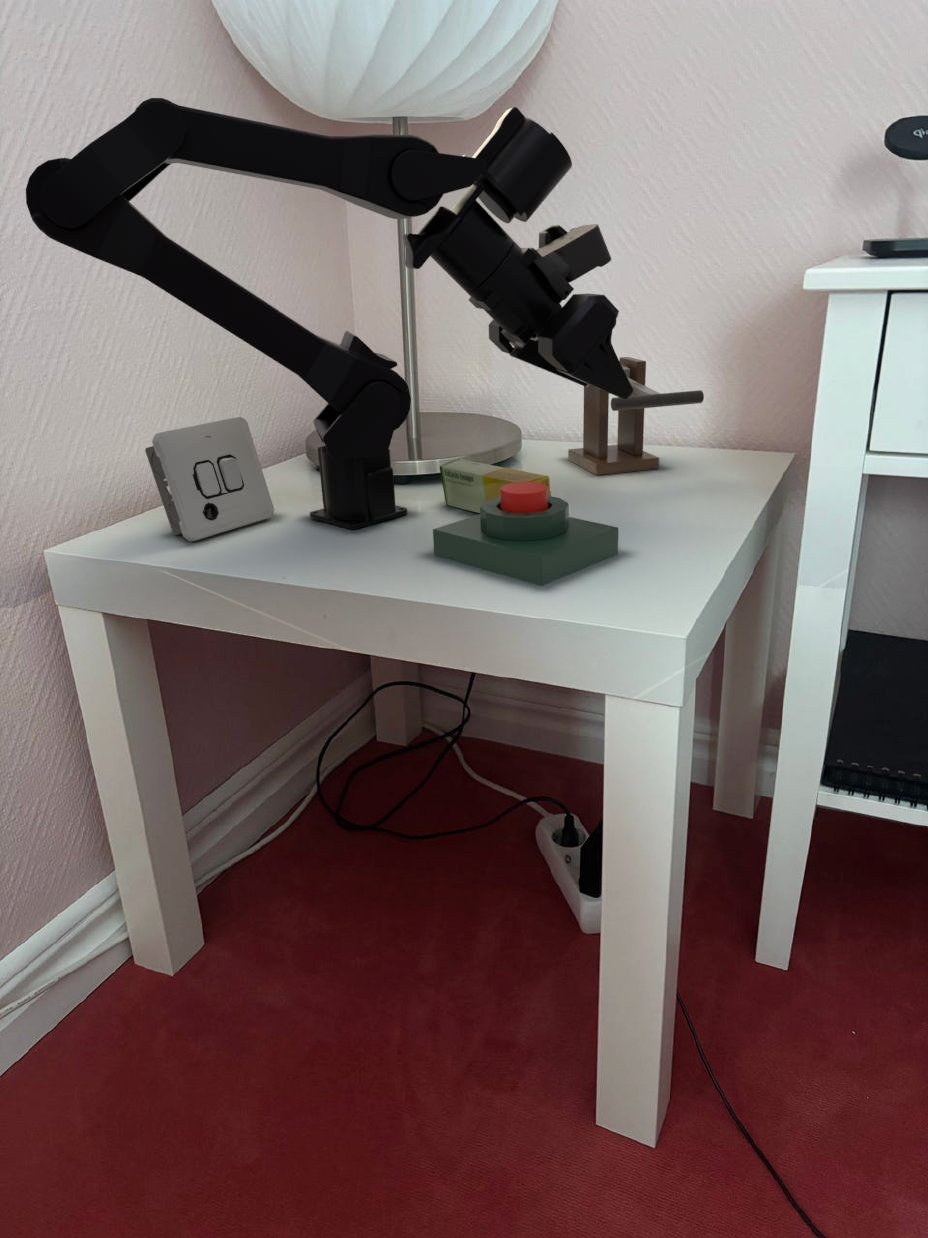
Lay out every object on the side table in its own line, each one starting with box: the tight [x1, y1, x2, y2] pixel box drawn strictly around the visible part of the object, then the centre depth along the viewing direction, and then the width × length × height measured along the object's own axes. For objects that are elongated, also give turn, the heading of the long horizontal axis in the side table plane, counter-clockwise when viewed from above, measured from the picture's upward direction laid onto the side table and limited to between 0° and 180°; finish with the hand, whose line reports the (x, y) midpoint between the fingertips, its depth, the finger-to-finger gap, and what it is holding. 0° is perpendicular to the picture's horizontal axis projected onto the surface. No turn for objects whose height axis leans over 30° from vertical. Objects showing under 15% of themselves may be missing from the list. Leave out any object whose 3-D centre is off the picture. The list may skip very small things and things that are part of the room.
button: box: [500, 482, 548, 513], centre depth 68 cm, size 4×4×2 cm
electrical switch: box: [144, 416, 275, 542], centre depth 79 cm, size 9×5×9 cm, turn 141°
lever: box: [609, 365, 705, 412], centre depth 90 cm, size 12×9×2 cm
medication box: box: [439, 458, 552, 514], centre depth 80 cm, size 12×3×4 cm, turn 40°
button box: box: [432, 495, 620, 587], centre depth 69 cm, size 11×9×4 cm
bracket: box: [567, 356, 660, 476], centre depth 95 cm, size 8×7×11 cm
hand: (607, 388), depth 83 cm, fingers open, 9 cm apart
